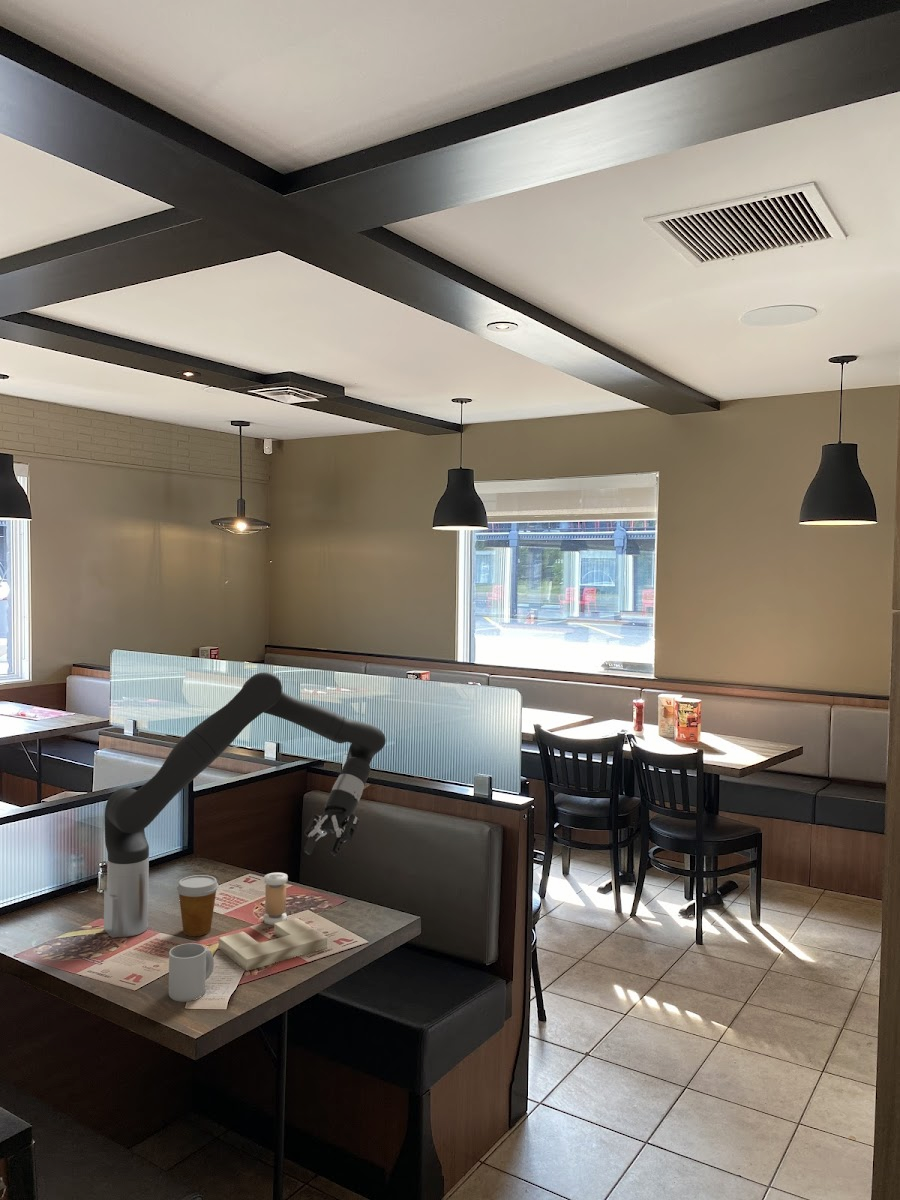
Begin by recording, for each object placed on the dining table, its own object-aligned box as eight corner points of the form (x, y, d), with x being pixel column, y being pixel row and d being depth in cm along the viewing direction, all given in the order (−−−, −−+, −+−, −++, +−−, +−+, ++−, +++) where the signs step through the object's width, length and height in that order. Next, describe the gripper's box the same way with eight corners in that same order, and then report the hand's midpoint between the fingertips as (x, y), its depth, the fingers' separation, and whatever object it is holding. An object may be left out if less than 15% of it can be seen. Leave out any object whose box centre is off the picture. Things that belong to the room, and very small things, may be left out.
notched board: (246, 970, 195) (246, 959, 195) (218, 948, 206) (218, 937, 205) (326, 948, 207) (327, 937, 207) (296, 927, 218) (296, 917, 218)
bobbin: (270, 926, 218) (271, 882, 218) (259, 919, 223) (260, 875, 222) (290, 921, 222) (291, 877, 221) (279, 914, 226) (280, 871, 226)
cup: (161, 994, 183) (161, 951, 183) (201, 977, 191) (202, 936, 191) (183, 1006, 179) (183, 961, 178) (223, 988, 187) (224, 945, 186)
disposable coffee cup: (226, 927, 217) (226, 878, 217) (199, 942, 209) (200, 891, 208) (194, 920, 221) (195, 871, 221) (167, 934, 213) (168, 883, 212)
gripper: (316, 788, 232) (289, 844, 222) (358, 787, 224) (333, 846, 214) (332, 804, 236) (307, 860, 226) (374, 804, 228) (350, 862, 218)
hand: (320, 853), depth 220 cm, fingers open, 8 cm apart
